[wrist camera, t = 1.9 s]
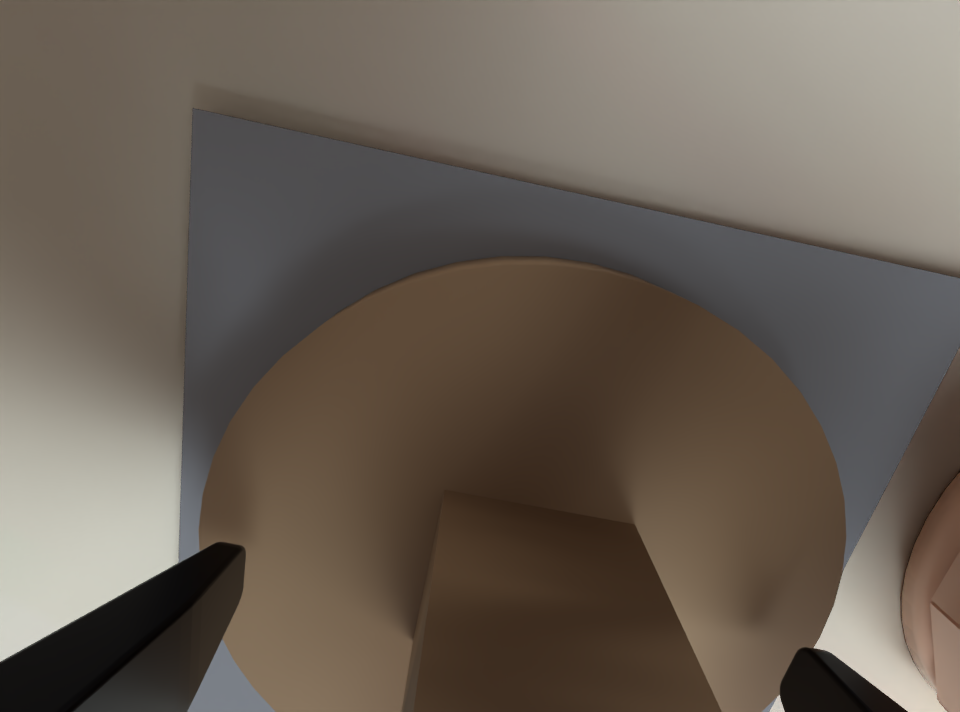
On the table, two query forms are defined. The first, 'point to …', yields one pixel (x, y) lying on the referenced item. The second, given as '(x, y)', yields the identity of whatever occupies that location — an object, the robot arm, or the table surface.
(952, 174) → the table surface
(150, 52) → the table surface
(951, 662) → the bowl
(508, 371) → the lid
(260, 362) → the mat
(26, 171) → the table surface
